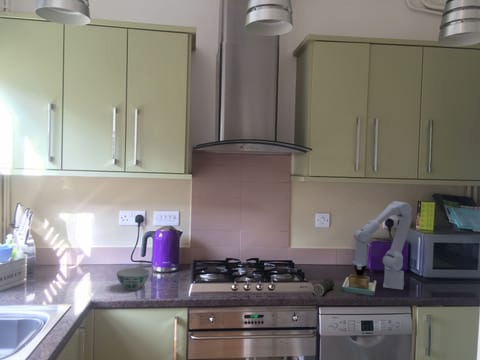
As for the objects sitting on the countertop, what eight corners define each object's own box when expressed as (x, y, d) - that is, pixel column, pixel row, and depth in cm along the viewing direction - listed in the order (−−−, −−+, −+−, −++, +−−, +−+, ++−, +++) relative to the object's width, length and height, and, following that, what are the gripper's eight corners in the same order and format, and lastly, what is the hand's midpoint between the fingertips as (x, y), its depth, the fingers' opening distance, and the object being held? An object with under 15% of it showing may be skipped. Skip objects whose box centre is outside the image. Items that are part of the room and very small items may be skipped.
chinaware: (139, 294, 175) (140, 277, 175) (110, 291, 179) (110, 274, 179) (154, 285, 190) (154, 269, 190) (126, 282, 193) (127, 266, 193)
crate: (368, 287, 194) (369, 276, 194) (367, 291, 188) (368, 280, 187) (350, 284, 197) (350, 274, 197) (348, 288, 191) (349, 277, 191)
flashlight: (324, 287, 196) (325, 276, 196) (335, 289, 193) (335, 278, 193) (312, 294, 183) (312, 283, 183) (323, 297, 180) (323, 285, 180)
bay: (376, 284, 203) (376, 280, 203) (373, 295, 184) (374, 291, 184) (346, 280, 208) (346, 276, 208) (341, 291, 190) (341, 286, 190)
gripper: (354, 250, 205) (353, 275, 205) (351, 255, 192) (350, 283, 192) (368, 251, 202) (367, 277, 203) (366, 257, 189) (364, 285, 189)
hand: (359, 280), depth 197 cm, fingers closed
